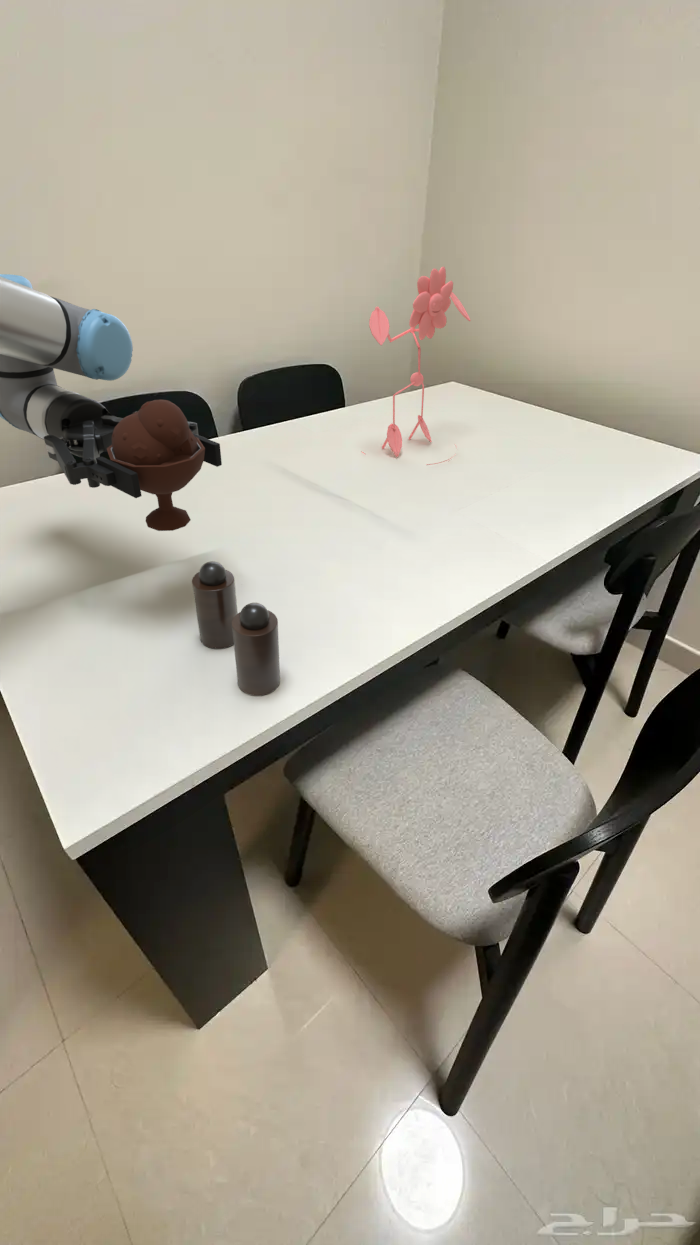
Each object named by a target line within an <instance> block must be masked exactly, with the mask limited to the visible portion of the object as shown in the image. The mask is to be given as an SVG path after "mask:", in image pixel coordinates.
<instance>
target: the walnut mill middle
mask: <svg viewBox="0 0 700 1245" xmlns="http://www.w3.org/2000/svg"><path fill="white" fill-rule="evenodd" d="M191 584H192V591H193V592H192V593H193V599H194V606H195V613H196V618H197V625H198V633H199V638H200V642H201V643H202V645H203V646H205V647H206V648H209V649H214V650H222V649H226V648H227V649H228V648H230V647H232V646H234V641H233V631H232V620H233V618H234V617H235V616H236V615H237V614H238V613H239V612H238V604H237V603H238V602H237V592H236V582H235V575H234V574H233V573H232V572H231V571H230V570H228V569H226V568H225V567H224V565H222V564H221V563H220V562H218V561H213V560H212V561H211V560H210V561H207V562H204V564H202V565H201V567H200V568H199V571H198V572H196V574H194V575H193V577H192V579H191Z"/></svg>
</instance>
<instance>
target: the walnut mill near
mask: <svg viewBox="0 0 700 1245" xmlns="http://www.w3.org/2000/svg"><path fill="white" fill-rule="evenodd" d="M278 621H279V620H278V617H277V616H276V614H275V613H273V612H272V611H270V610H268V608H267V607H266V606H265V605H264V604H262V603H259V602H250V603H248V604H245V605H244V606H243V607H242V609H241V610H240V611H239V612H238V614H237V615H236V616H235V617H234V618H233V620H232V631H233V641H234V644H233V649H234V650H233V651H234V658H235V659H234V660H235V669H236V680H237V686H238V688H239V689H240V690H241V691H242V692H243V693H244V694H246V695H248V696H249V695H250V696H254V697H260V696H266V695H269V694H271V693H272V692H274V691H276V690H277V688H278V687H279V685H280V684H281V668H280V643H279V642H280V641H279V639H280V638H279V622H278Z"/></svg>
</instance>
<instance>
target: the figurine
mask: <svg viewBox="0 0 700 1245" xmlns="http://www.w3.org/2000/svg"><path fill="white" fill-rule="evenodd" d="M416 286H417V292H418V295H417V296H416V298H415V299H414V300H413V303H412V312H411V314H410V318H409V322H408V323H409V324H408V325H409V327H410V328H409V329H406V330H405V331H403V332H401V333H399V334H397V335H396V336H394V337H391V335H390V327H391V326H390V321H389V318H388V316H387V314H386V312H385V311H383V310H382V309H381V308H380V307H379V306H375V307H374V310H373V311H371V314H370V317H369V321H368V322H369V325H368V326H369V329H370V333H371V335H372V337H373V338H374V339H375V341H376V342H377V343H378V344H379V345H380V346H383V345H384V343H385V342H386V339H388V340H387V341H389V343H392V342H395V341H396V340H398V339H400V338H402V337H404V336H406V335H407V334H409V333H411V334H412V337H413V339H414V341H415V345H416V347H417V371H416V372H414V373H412V374H411V376H410V378H409V379H410V380H409V381H410V383H409V384H408V385H406V386H405V387H403V388H401V389H400V390H398V391H396V392H395V393H393V395H392V422H391V423H390V424H389V425H388V426H387V431H386V438H385V440H384V442H383V444H382V445H381V449H382V450H384V449H385V447H386V446H387V444H388V447H389V448H390V450H391V451H392V453H393V455H394V456H395V457H396V458H398V457H399V455H400V453H401V450H402V447H403V437H402V433H401V430H400V428H399V426H398V425H397V424H396V415H395V414H396V396H397V395H399V394H400V393H402V392H403V391H405V390H406V389H408V388H410V387H411V386H414V387H420V386H422V387H421V388H422V390H421V407H420V408H421V411H420V414H421V415H420V414H418V415H417V423H416V424H415V426H414V428H413V429H412V431H411V433H410V435H409V436H408V438H407V439H408V440H412V438H413V436H414V434H415V433H416V431H417V429H418V427H420V429H421V432H422V433H423V435H424V437H425V438H426V439H427V441H428V442H429V443H432V437H431V434H430V431H429V428H428V425H427V424H426V421H425V419H424V418H423V416H424V400H425V399H424V398H425V385H424V379H425V378H424V375H423V374H422V373H421V354H422V353H421V352H422V348H421V345H420V342H419V340H420V341H423V340H424V339H425V338H426V337H427V338H428V339H429V340H431V339H433V337H434V335H435V332H436V329H440V330H441V329H443V328H444V327H445V326H446V325H447V322H448V321H447V315H446V314H445V313H446V312H447V311H448V309H449V308H450V306H451V304H452V303H453V304H454V306H455V307H456V309H457V310H458V312H459V313H460V314H461V315H462V317H463V318H464V319H465V320H467V321H468V322H471V321H472V320H471V317H470V315H469V314H468V312H467V310H466V308H465V307H464V305H463V302H462V301H461V299H459V298H458V296H457V295H456V294H455V293H454V292H453V290H454V282H453V280H449V281H448V282H447V270H446V267H445V266H441V267H440V269H438V268H432V270H431V271H430V277H428V276H426V275H421V276H420V277H419V278H417V283H416ZM417 326H418V328H416V327H417ZM415 332H417V333H418V338H417V335H416V333H415ZM418 339H419V340H418ZM454 445H455V448H456V449H457V445H456V444H454ZM360 452H361V453H362V454H364V455H366V453H364V452H363V451H362V450H361V451H360ZM455 456H456V454H454V455H453V456H452V457H450V458H448V459H446V460H443V461H440V462H435V463H426V466H431V465H436V464H441V463H445V462H450V461H452V458H454V457H455Z"/></svg>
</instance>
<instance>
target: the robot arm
mask: <svg viewBox="0 0 700 1245" xmlns="http://www.w3.org/2000/svg"><path fill="white" fill-rule="evenodd" d="M133 348H134V346H133V341H132V336H131V334H130V331H129V330H128V328H127V326H126V325H125V324H124V322H123V321H122V320H121V319H119V318H118V317H117V316H115V315H113V314H111V313H107V312H102V311H101V310H99V309H96V308H92V309H89V308H85V307H82V306H78V305H75V304H73V303H70V302H68V301H65V300H63V299H60V298H57V297H54V296H51V295H49V294H47V293H45V292H42V291H39V290H37V289H34V288H33V285H32V283H31V281H30V280H29V279H28V278H26V277H25V276H22V275H18V274H10V273H9V274H7V273H0V418H1V419H3V420H4V421H5V422H7V423H8V425H11V426H12V427H13V428H15V429H18V430H21V431H23V432H26V433H29V434H32V435H34V436H36V437H38V438H39V439H40V440H41V439H42V440H43V441H44V444H45V447H46V450H47V454H48V457H49V458H50V459H52V460H54V461H55V462H57V464H58V465H59V467H60V468H61V471H62V472H63V474H64V476H65V477H66V480H67V481H68V483H69V484H70V485H73V486H76V485H80V484H81V483H82V480H85V479H87V484H88V487H89V488H93V489H95V488H98V487H100V486H101V485H103V486H105V487H113V488H115V489H117V490H119V491H121V492H123V493H124V494H126V495H129V496H130V497H132V498H134V499H137V498H140V497H142V490H140V485H139V479H138V474H137V473H136V472H134V471H132V470H130V469H128V468H125V467H123V466H121V465H119V464H117V463H115V462H113V461H111V460H110V459H108V458H106V457H104V456H101V454H102V453H103V452H104V453H107V452H108V451H107V449H106V448H108V447H109V446H111V445H112V434H113V431H114V428H115V427H116V425H117V424H118V423H119V422H120V421H121V420H122V419H124V417H117V416H115V415H112V414H111V413H110V412H109V410H108V409H107V408H106V407H105V406H104V405H103V404H102V403H101V402H99V401H97V400H95V399H92V398H90V397H87V396H85V395H82V394H81V393H78V392H76V391H73V390H70V389H67V388H65V387H62V386H59V385H58V383H57V378H56V375H55V371H54V370H59V371H63V372H66V373H71V374H74V375H78V376H83V377H86V378H88V379H92V380H102V381H106V382H107V381H110V382H111V381H115V380H118V379H120V378H121V377H123V376H124V375H125V374H126V373H127V372H128V370H129V368H130V366H131V363H132V357H133V351H134V350H133ZM138 411H139V410H135V411H133V412H132V414H134V413H135V412H138ZM187 422H188V426H189V429H190V430H191V432H192V433H193V435H194V436H195V437H197V438H199V440H200V441H201V443H202V444H203V446H204V447H205V454H204V461H203V463H207V464H210V465H211V466H214V467H217V468H218V467H220V466H222V465H223V464H222V463H223V462H222V452H221V444H220V443H219V442H217V441H214V440H211V439H209V438H206V437H204V436H203V435H202V436H201V435H199V428H198V423H197V422H195V421H188V420H187ZM73 455H74V456H76V457H79V458H82V462H77V461H76V459H75V458H74V456H73Z"/></svg>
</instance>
